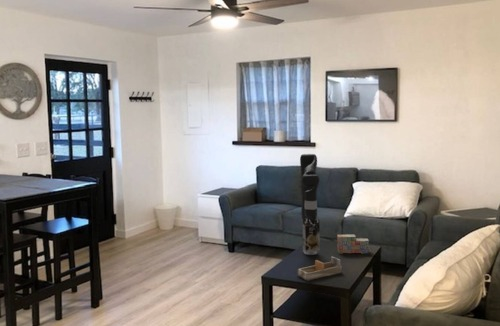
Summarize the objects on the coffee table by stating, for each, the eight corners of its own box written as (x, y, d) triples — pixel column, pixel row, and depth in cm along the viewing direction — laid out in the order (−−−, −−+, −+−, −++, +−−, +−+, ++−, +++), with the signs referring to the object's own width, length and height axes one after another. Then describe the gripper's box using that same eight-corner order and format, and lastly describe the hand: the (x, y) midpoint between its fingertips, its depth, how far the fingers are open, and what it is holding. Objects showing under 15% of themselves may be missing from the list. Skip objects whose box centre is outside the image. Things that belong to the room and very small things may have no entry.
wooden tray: (297, 275, 290) (297, 263, 289) (331, 267, 302) (331, 255, 301) (307, 280, 281) (307, 267, 280) (341, 272, 293) (341, 260, 292)
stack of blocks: (367, 251, 335) (367, 234, 334) (369, 253, 329) (369, 236, 328) (337, 251, 337) (337, 234, 336) (338, 253, 331) (338, 236, 330)
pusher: (315, 271, 294) (315, 260, 293) (316, 270, 294) (316, 259, 294) (322, 274, 287) (322, 263, 287) (324, 274, 288) (323, 263, 287)
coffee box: (305, 252, 282) (305, 226, 281) (302, 249, 289) (302, 223, 287) (320, 250, 284) (319, 224, 282) (316, 247, 290) (316, 222, 289)
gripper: (298, 206, 288) (299, 232, 290) (312, 210, 275) (313, 237, 277) (308, 204, 291) (309, 230, 293) (323, 208, 279) (323, 235, 281)
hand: (311, 234), depth 285 cm, fingers closed on coffee box, 7 cm apart
